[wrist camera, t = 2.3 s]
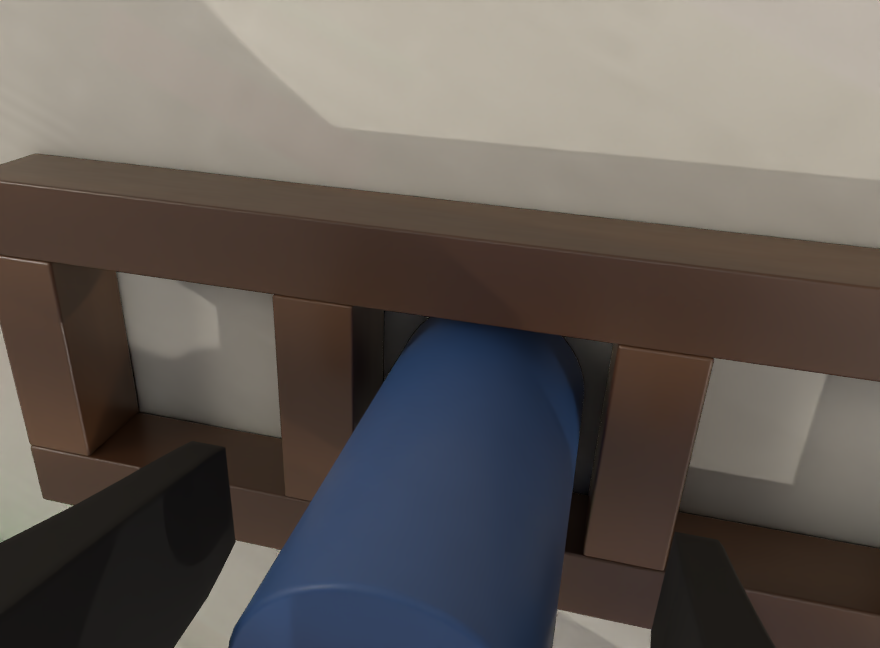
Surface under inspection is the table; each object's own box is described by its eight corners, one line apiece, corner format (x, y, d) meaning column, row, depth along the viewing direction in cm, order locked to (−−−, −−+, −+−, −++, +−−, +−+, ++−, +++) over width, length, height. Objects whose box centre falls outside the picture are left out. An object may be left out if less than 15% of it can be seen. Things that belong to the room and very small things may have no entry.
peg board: (958, 623, 16) (997, 705, 14) (95, 452, 20) (41, 499, 18) (1128, 276, 12) (1211, 328, 11) (34, 152, 16) (-38, 175, 15)
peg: (572, 476, 17) (523, 852, 10) (399, 445, 17) (236, 772, 10) (597, 314, 15) (557, 631, 8) (403, 287, 16) (209, 554, 9)
